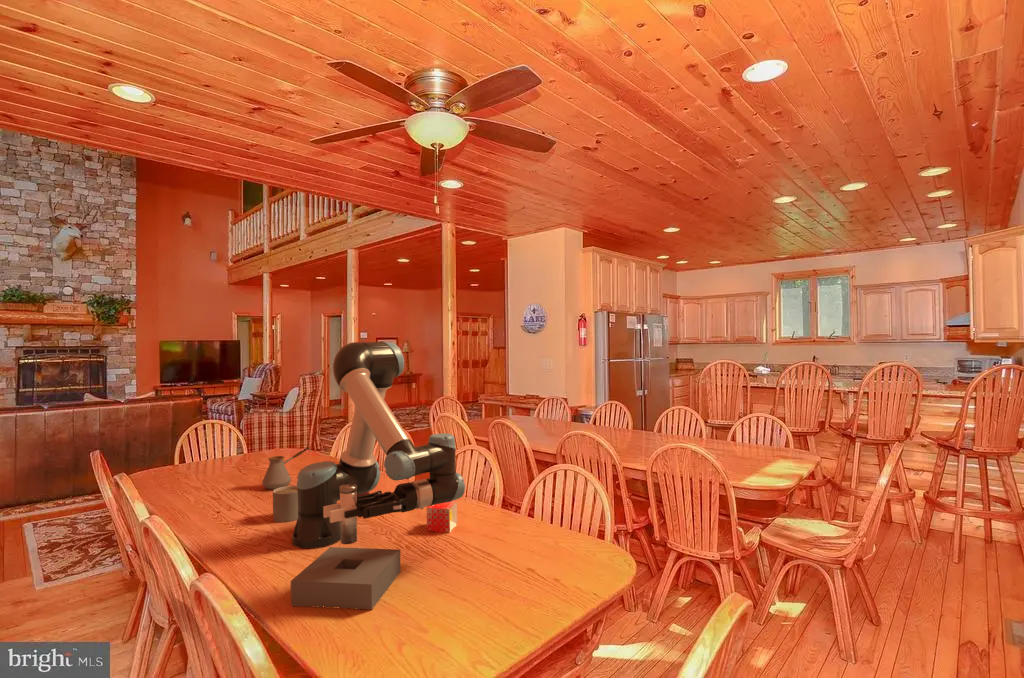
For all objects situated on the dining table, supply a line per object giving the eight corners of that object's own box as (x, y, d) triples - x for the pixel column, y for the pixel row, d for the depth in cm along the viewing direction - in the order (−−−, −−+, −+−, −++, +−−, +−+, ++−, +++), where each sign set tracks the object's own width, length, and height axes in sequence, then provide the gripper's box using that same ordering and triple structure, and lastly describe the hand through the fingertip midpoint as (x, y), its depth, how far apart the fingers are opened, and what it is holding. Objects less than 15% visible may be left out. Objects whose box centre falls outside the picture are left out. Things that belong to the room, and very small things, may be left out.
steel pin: (337, 544, 131) (336, 488, 131) (344, 537, 135) (343, 483, 135) (353, 544, 130) (352, 488, 130) (360, 538, 134) (359, 484, 134)
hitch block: (291, 605, 124) (290, 580, 124) (330, 568, 144) (330, 547, 144) (371, 610, 121) (371, 584, 121) (400, 571, 141) (400, 549, 141)
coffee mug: (283, 524, 179) (283, 495, 179) (267, 518, 185) (267, 490, 185) (317, 513, 190) (317, 485, 190) (301, 508, 196) (300, 481, 196)
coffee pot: (269, 493, 216) (269, 457, 216) (257, 488, 224) (256, 453, 224) (317, 481, 233) (317, 448, 232) (304, 477, 240) (304, 445, 240)
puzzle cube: (449, 533, 169) (449, 508, 169) (426, 531, 171) (426, 507, 170) (457, 524, 177) (456, 501, 177) (435, 523, 178) (434, 500, 178)
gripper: (427, 517, 137) (339, 539, 122) (398, 502, 150) (316, 520, 136) (427, 489, 137) (338, 508, 122) (398, 476, 150) (315, 491, 136)
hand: (327, 514), depth 129 cm, fingers closed on steel pin, 4 cm apart
